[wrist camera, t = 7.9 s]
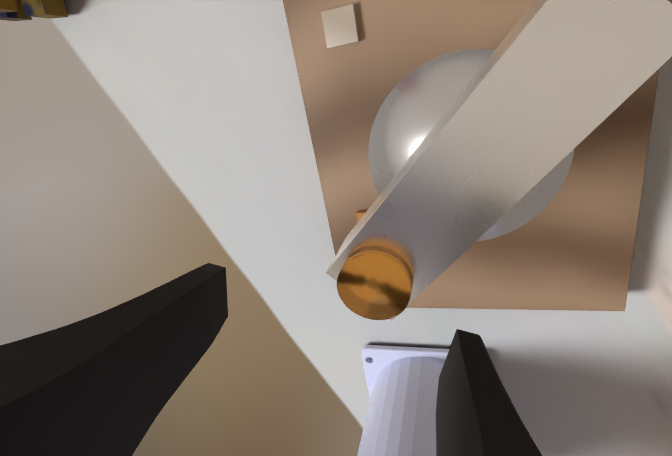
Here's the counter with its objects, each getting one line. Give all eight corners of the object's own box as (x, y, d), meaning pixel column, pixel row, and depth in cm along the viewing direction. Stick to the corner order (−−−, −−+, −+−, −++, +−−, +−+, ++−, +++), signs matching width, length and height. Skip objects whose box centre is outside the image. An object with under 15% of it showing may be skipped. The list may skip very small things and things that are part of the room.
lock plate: (613, 293, 19) (666, 374, 14) (352, 292, 24) (326, 353, 19) (679, -251, 11) (843, -468, 7) (275, -98, 16) (199, -161, 11)
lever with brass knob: (494, -53, 10) (526, -131, 6) (653, 71, 10) (801, 85, 6) (325, 192, 15) (271, 252, 10) (437, 275, 15) (431, 369, 10)
